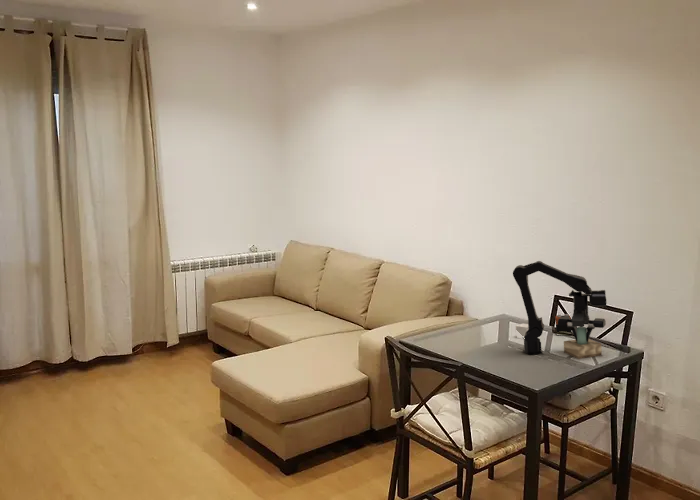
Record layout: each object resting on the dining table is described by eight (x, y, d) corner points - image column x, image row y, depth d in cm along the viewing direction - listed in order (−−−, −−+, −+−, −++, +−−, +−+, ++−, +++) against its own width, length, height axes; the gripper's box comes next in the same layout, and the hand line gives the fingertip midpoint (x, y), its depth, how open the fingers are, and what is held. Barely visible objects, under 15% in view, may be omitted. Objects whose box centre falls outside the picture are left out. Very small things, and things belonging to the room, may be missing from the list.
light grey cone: (533, 336, 299) (533, 324, 298) (527, 339, 295) (526, 327, 294) (522, 335, 303) (522, 323, 303) (516, 337, 299) (515, 325, 299)
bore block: (578, 358, 259) (578, 347, 258) (564, 352, 269) (563, 341, 269) (601, 355, 261) (601, 343, 260) (586, 349, 272) (585, 338, 271)
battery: (571, 335, 295) (570, 315, 294) (556, 336, 297) (555, 315, 296) (570, 333, 299) (569, 313, 298) (556, 333, 301) (555, 313, 300)
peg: (581, 352, 263) (580, 329, 261) (575, 350, 266) (574, 327, 265) (589, 351, 263) (588, 328, 262) (583, 348, 267) (583, 326, 266)
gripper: (553, 309, 261) (555, 344, 263) (600, 311, 251) (601, 348, 253) (560, 303, 270) (561, 338, 272) (605, 305, 260) (606, 341, 262)
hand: (582, 341), depth 265 cm, fingers closed on peg, 4 cm apart
